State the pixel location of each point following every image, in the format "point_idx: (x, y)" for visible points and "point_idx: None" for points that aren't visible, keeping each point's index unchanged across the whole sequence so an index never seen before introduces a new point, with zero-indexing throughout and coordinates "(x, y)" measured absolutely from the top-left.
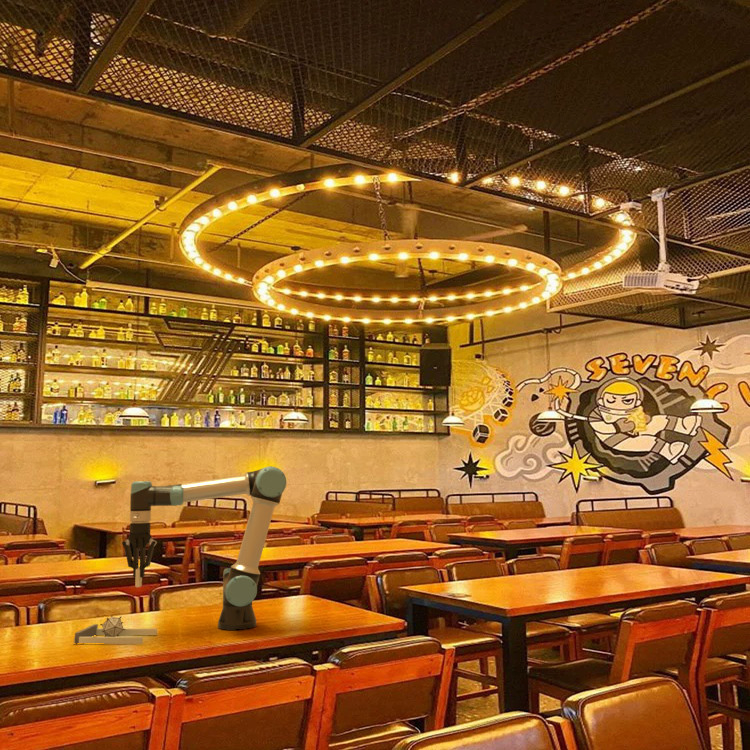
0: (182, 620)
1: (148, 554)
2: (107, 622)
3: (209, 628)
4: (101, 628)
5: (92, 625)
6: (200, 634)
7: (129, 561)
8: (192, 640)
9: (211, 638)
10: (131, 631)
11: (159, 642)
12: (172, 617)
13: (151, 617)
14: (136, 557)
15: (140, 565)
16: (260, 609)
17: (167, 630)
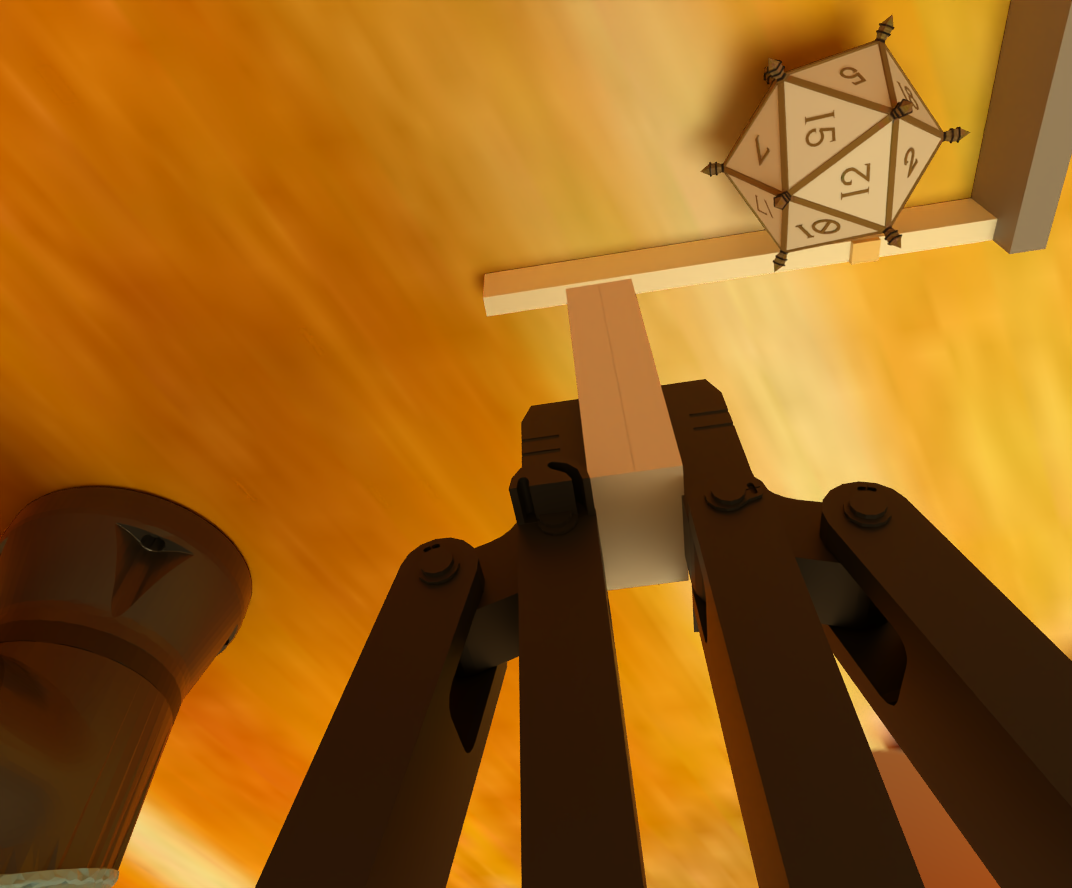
0: None
1: (333, 853)
2: (883, 90)
3: (267, 515)
4: (956, 240)
5: (1048, 198)
6: (194, 364)
7: (923, 589)
8: (93, 169)
9: (10, 260)
10: (685, 256)
11: (307, 42)
12: (650, 689)
13: None
14: (742, 721)
15: (579, 546)
16: None
17: (501, 433)
